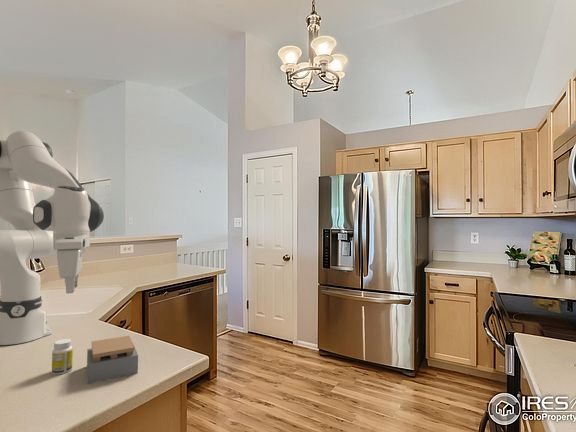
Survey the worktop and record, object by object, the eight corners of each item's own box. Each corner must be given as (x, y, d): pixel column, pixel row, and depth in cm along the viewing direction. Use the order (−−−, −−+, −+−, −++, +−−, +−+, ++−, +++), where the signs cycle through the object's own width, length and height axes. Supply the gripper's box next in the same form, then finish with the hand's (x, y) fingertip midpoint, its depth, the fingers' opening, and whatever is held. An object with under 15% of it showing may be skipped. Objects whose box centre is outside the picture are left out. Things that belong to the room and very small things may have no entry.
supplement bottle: (68, 365, 95) (69, 337, 96) (74, 370, 92) (75, 340, 93) (49, 371, 92) (50, 341, 92) (54, 376, 89) (55, 345, 89)
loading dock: (86, 366, 95) (87, 341, 95) (131, 357, 102) (132, 334, 102) (87, 383, 85) (88, 356, 85) (137, 373, 92) (138, 347, 92)
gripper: (63, 241, 101) (63, 286, 101) (52, 243, 83) (53, 297, 83) (87, 240, 104) (87, 284, 104) (81, 242, 86) (82, 294, 86)
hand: (72, 290), depth 93 cm, fingers open, 8 cm apart
